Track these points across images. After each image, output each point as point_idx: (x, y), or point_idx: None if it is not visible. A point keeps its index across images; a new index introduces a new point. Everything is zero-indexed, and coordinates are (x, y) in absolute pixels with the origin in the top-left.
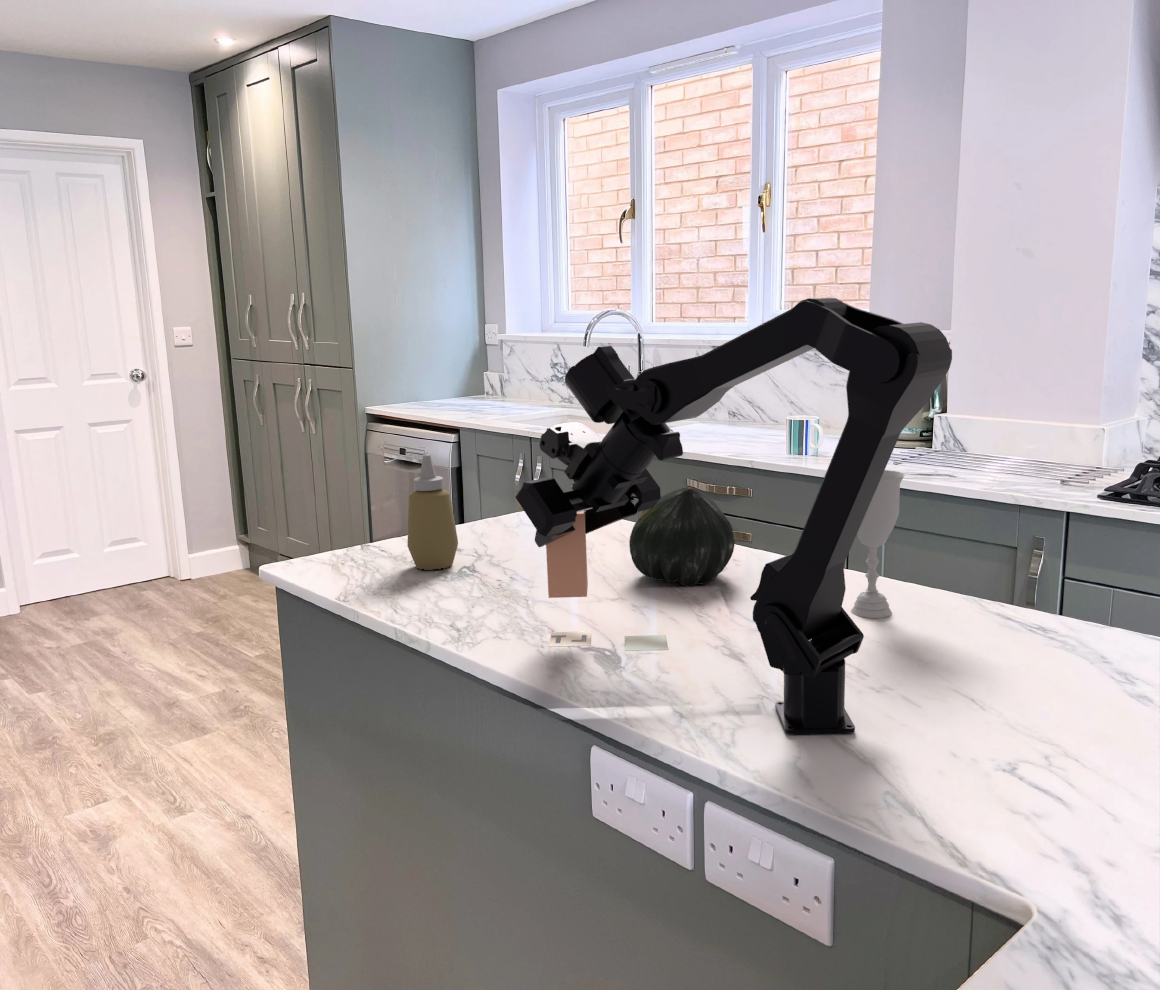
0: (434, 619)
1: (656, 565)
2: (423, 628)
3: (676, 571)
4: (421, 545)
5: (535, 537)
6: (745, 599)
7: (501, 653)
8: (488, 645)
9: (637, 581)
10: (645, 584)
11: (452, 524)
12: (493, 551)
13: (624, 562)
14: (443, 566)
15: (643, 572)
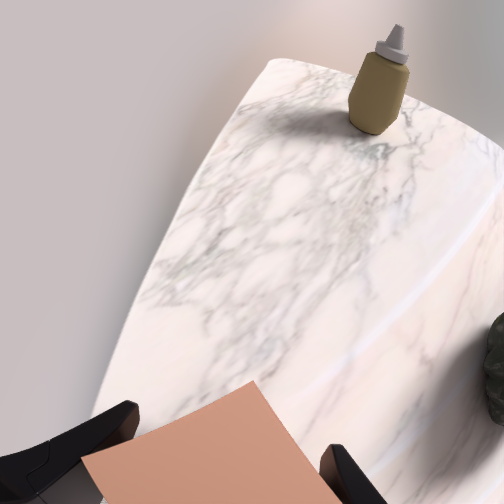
0: (232, 202)
1: (493, 375)
2: (198, 210)
3: (494, 401)
4: (354, 100)
5: (114, 408)
6: (478, 480)
7: (154, 357)
8: (174, 322)
9: (478, 334)
10: (477, 351)
11: (394, 101)
12: (429, 148)
13: (500, 276)
14: (367, 130)
15: (488, 341)
